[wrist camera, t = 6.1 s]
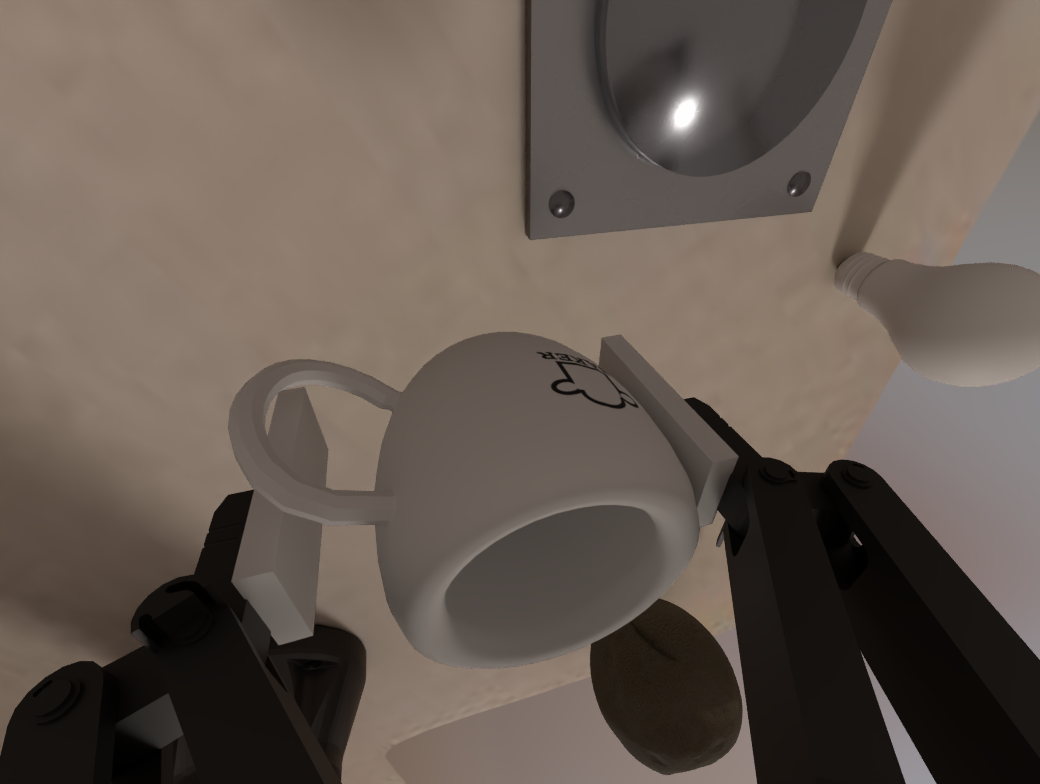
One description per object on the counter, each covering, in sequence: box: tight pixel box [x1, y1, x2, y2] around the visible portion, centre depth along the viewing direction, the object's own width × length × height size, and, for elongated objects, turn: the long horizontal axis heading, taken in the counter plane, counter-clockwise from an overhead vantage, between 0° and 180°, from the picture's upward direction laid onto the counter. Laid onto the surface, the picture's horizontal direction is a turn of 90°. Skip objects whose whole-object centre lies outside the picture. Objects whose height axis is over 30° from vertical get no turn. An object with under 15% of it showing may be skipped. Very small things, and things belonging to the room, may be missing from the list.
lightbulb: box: [834, 252, 1040, 387], centre depth 24 cm, size 6×6×11 cm
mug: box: [228, 332, 700, 669], centre depth 13 cm, size 12×8×8 cm
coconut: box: [590, 599, 742, 775], centre depth 45 cm, size 14×14×15 cm
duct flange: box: [526, 0, 892, 240], centre depth 17 cm, size 16×16×2 cm
